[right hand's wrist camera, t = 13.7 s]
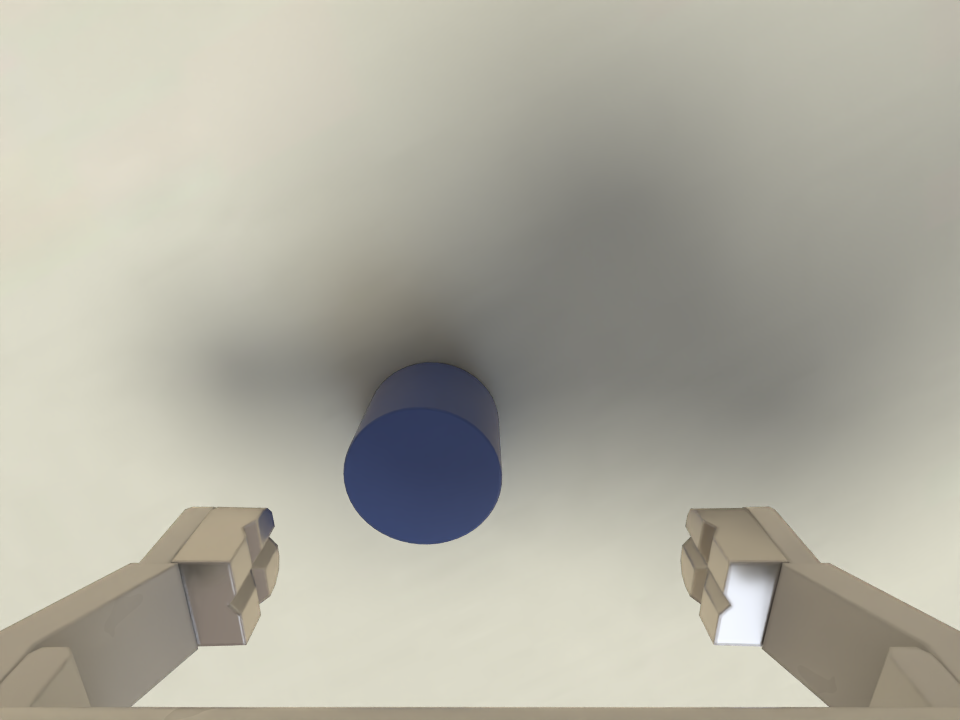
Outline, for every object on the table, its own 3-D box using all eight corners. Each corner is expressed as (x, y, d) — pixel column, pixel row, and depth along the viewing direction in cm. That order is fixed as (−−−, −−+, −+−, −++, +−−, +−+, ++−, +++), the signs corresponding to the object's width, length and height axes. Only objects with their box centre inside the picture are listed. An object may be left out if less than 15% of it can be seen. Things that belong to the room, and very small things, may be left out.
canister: (437, 335, 20) (426, 375, 16) (525, 428, 21) (534, 487, 17) (341, 416, 21) (309, 472, 17) (429, 500, 22) (418, 570, 18)
